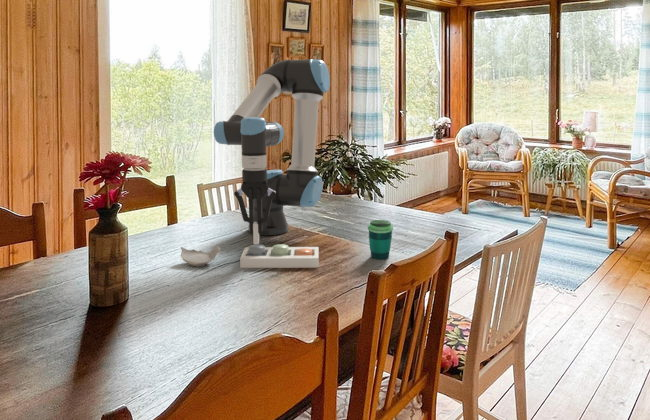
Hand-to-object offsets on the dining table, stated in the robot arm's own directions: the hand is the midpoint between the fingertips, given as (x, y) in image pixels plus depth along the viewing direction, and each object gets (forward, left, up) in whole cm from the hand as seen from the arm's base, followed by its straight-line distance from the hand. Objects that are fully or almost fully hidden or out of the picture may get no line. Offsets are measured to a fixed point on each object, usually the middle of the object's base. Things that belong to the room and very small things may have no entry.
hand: (256, 242), depth 174 cm
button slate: (0, 0, -3) cm, 3 cm away
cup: (+31, +24, -7) cm, 40 cm away
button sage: (+6, +4, -3) cm, 8 cm away
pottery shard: (-14, -11, -7) cm, 19 cm away
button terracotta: (+12, +8, -5) cm, 16 cm away
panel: (+6, +4, -6) cm, 10 cm away
